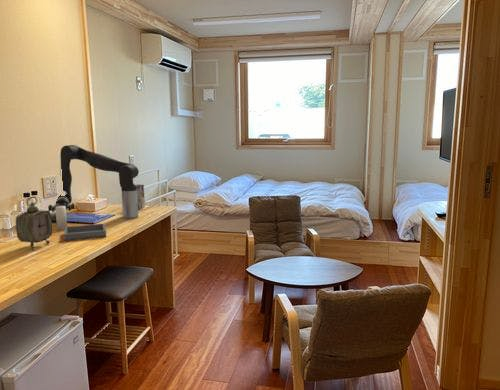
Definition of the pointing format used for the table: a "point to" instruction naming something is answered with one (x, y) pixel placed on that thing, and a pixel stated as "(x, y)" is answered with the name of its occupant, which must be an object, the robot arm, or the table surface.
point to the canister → (61, 217)
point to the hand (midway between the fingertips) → (61, 209)
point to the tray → (85, 232)
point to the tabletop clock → (34, 225)
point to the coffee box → (140, 197)
